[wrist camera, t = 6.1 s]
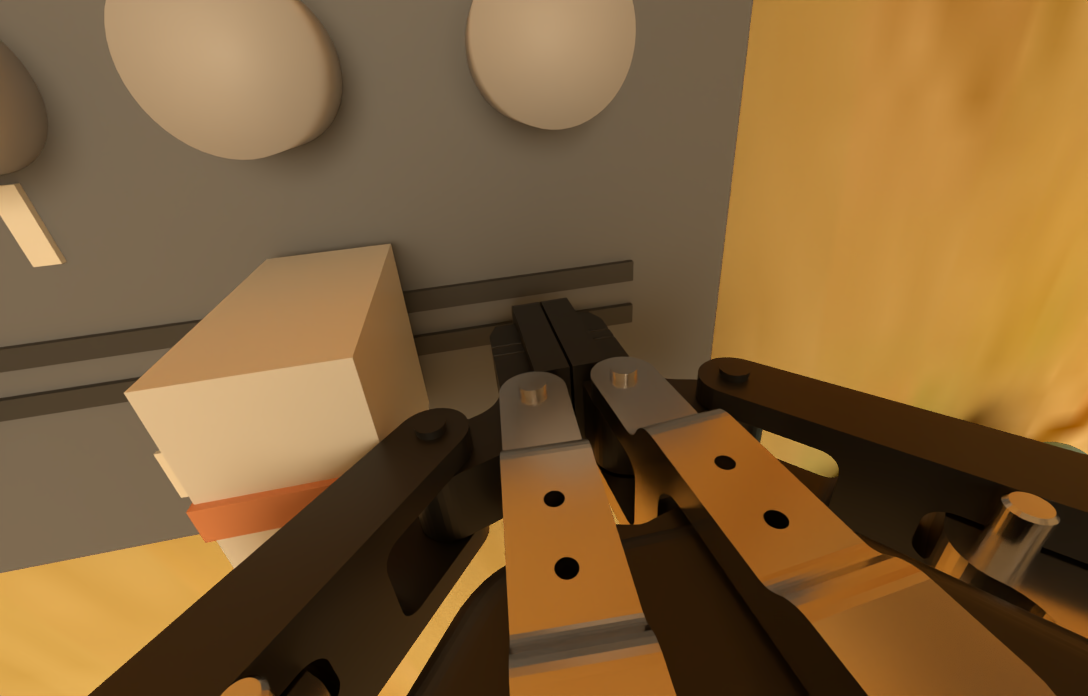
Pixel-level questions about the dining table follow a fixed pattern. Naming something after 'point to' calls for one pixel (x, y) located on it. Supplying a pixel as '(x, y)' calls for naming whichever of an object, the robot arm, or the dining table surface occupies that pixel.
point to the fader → (283, 390)
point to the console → (334, 201)
